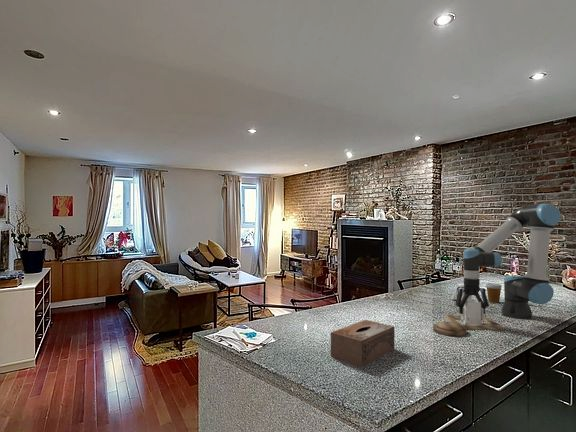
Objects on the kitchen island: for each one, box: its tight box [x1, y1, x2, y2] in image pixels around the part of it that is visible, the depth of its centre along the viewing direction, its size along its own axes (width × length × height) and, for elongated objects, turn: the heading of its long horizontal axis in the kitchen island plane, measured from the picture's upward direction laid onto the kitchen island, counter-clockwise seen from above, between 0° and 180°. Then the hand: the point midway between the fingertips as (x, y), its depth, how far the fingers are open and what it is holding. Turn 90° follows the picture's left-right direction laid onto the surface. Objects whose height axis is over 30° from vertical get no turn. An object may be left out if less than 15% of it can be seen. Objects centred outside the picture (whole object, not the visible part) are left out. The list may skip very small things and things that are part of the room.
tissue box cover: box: [330, 319, 395, 368], centre depth 144 cm, size 26×14×10 cm, turn 135°
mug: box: [463, 298, 483, 325], centre depth 185 cm, size 12×8×12 cm
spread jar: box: [451, 283, 472, 301], centre depth 238 cm, size 12×11×12 cm
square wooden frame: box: [444, 314, 503, 331], centre depth 185 cm, size 20×20×2 cm
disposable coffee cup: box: [485, 282, 503, 304], centre depth 235 cm, size 10×10×12 cm
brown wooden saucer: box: [432, 321, 467, 337], centre depth 171 cm, size 15×15×3 cm
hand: (472, 319), depth 185 cm, fingers closed on mug, 9 cm apart
